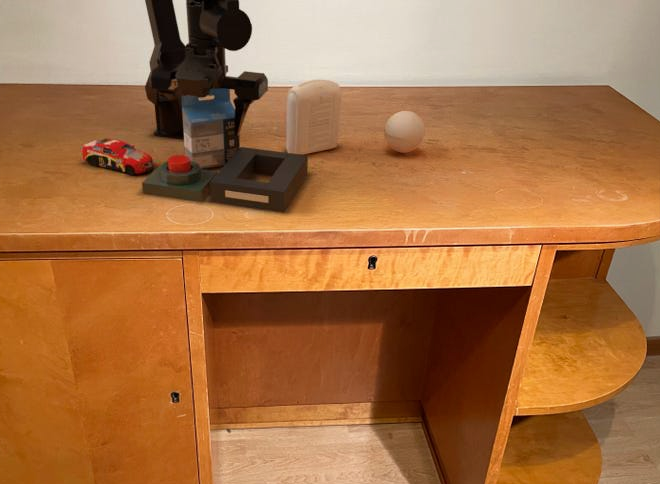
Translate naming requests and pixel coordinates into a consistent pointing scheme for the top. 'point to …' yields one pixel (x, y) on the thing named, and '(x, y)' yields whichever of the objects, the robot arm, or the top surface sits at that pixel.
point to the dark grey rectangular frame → (242, 191)
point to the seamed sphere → (404, 131)
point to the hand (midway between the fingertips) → (211, 132)
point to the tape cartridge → (209, 129)
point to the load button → (179, 164)
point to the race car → (117, 156)
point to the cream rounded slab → (312, 116)
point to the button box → (179, 183)
